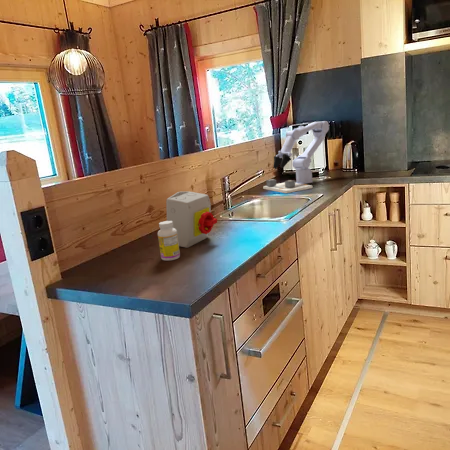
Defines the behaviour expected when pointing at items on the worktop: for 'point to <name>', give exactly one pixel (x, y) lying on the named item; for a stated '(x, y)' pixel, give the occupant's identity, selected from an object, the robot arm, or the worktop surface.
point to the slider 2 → (289, 183)
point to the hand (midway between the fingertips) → (278, 167)
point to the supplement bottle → (168, 241)
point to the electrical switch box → (190, 217)
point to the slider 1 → (271, 182)
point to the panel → (283, 189)
